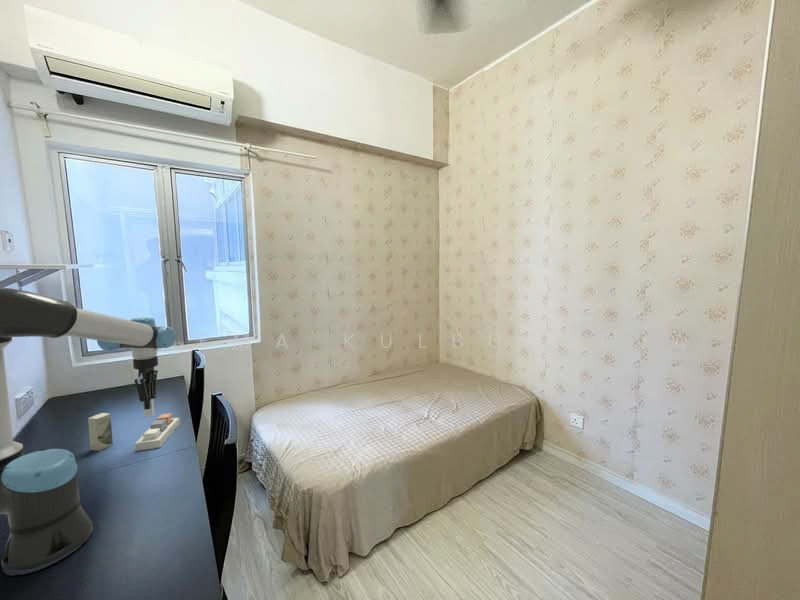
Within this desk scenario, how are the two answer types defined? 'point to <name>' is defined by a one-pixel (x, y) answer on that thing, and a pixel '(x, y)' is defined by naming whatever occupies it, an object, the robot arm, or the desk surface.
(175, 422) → the keypad housing
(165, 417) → the key terracotta
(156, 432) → the key ivory
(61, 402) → the desk surface
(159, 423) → the key slate
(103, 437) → the box
